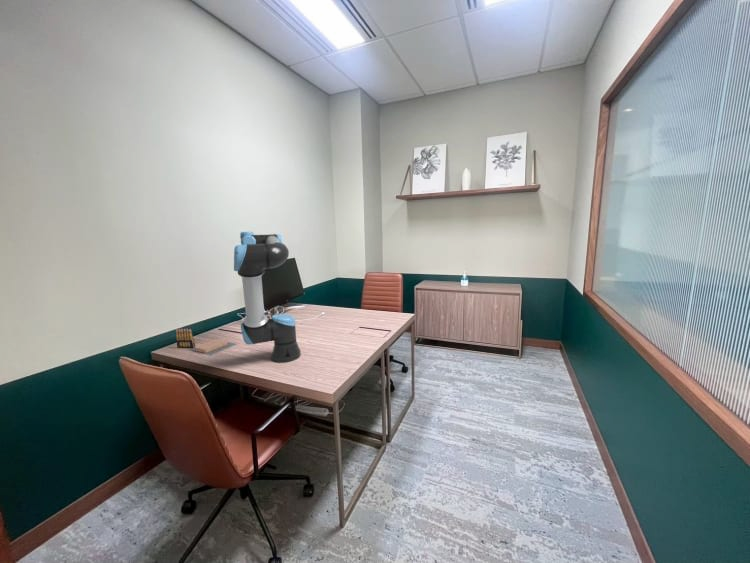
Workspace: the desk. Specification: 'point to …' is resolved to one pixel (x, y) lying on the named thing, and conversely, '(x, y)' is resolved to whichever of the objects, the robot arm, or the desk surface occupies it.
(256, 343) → the robot arm
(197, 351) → the rubber mat
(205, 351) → the pale rectangular block
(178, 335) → the ammunition clip
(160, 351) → the desk surface
